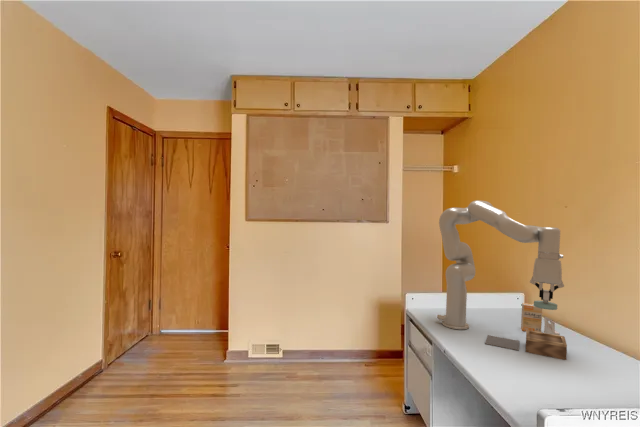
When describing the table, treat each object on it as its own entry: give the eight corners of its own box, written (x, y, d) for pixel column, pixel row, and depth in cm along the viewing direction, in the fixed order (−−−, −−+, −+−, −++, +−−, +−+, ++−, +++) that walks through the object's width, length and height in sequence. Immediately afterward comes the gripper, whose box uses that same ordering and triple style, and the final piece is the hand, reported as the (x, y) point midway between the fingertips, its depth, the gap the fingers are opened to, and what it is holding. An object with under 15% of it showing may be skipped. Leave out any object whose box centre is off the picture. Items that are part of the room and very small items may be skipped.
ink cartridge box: (549, 336, 169) (549, 316, 169) (559, 345, 158) (560, 323, 158) (543, 336, 170) (544, 315, 170) (553, 344, 159) (554, 322, 159)
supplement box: (522, 331, 176) (523, 304, 176) (520, 328, 180) (521, 302, 180) (541, 333, 173) (542, 306, 173) (539, 330, 177) (540, 304, 177)
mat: (484, 344, 156) (484, 343, 156) (487, 335, 167) (487, 334, 167) (518, 350, 149) (518, 349, 149) (519, 341, 160) (519, 340, 160)
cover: (533, 303, 156) (534, 288, 156) (556, 306, 152) (557, 291, 152) (533, 307, 149) (534, 291, 149) (557, 311, 144) (558, 294, 144)
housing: (525, 351, 148) (526, 337, 148) (525, 343, 159) (526, 329, 159) (566, 360, 141) (566, 344, 141) (563, 350, 151) (564, 336, 151)
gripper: (570, 257, 149) (567, 301, 149) (526, 253, 157) (524, 295, 157) (572, 259, 143) (569, 305, 143) (526, 255, 151) (523, 298, 151)
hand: (545, 299), depth 150 cm, fingers closed on cover
